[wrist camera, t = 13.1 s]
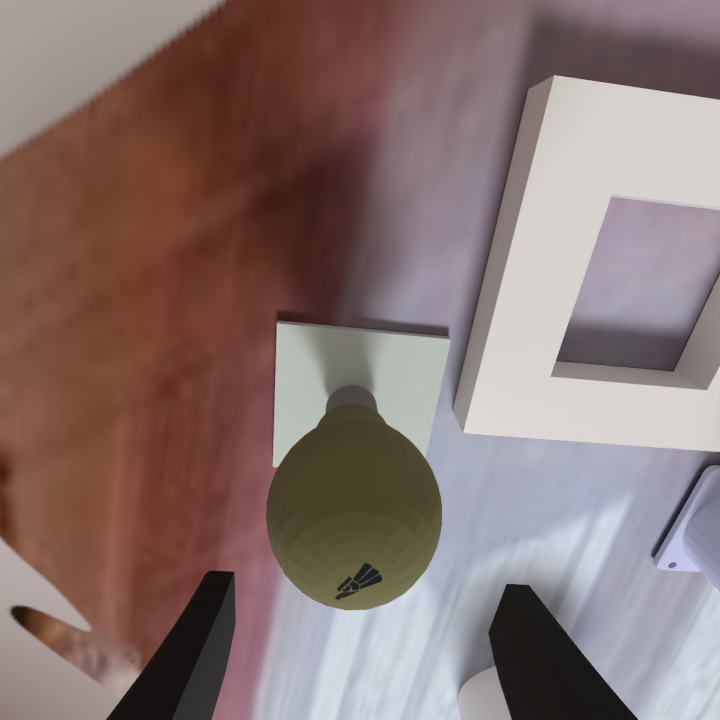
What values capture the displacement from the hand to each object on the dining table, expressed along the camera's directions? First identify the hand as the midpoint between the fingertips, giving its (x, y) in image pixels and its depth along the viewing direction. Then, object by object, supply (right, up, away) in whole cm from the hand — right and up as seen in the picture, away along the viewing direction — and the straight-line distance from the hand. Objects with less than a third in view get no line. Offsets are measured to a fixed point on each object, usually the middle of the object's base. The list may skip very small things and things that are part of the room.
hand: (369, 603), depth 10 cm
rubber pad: (0, +4, +9) cm, 10 cm away
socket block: (+12, +10, +8) cm, 17 cm away
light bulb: (-1, +5, +9) cm, 10 cm away
